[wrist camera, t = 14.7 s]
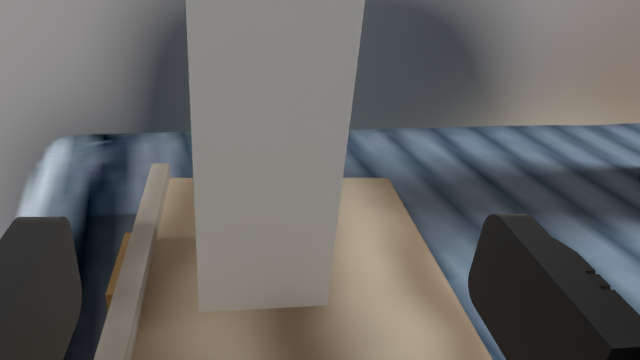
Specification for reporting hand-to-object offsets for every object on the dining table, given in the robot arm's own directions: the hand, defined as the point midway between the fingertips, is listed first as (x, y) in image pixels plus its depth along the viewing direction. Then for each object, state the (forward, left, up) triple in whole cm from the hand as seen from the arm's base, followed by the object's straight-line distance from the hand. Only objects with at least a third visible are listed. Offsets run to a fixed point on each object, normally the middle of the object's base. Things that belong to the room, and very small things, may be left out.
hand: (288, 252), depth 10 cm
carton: (0, -11, -9) cm, 14 cm away
